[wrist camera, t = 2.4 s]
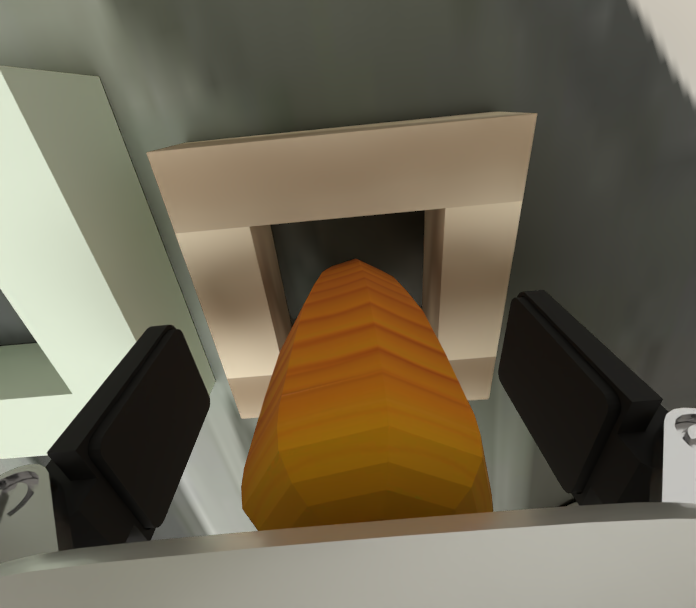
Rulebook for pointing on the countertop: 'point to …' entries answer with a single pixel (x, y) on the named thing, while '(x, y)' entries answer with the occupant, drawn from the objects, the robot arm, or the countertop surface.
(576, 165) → the countertop surface
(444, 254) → the socket block
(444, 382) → the carrot
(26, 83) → the pale green square frame
